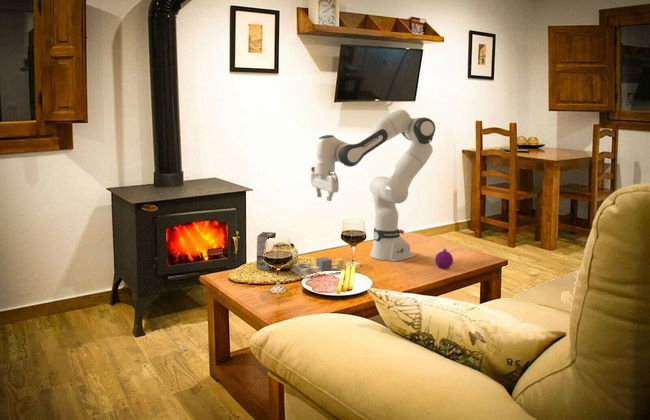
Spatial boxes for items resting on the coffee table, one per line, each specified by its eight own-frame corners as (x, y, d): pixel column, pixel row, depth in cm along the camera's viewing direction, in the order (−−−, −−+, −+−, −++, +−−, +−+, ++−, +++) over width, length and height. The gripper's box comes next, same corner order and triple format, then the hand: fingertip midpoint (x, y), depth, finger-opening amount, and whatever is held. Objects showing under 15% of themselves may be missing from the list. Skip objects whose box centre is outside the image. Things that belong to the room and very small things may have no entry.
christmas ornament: (446, 272, 278) (448, 251, 276) (431, 267, 283) (432, 247, 281) (455, 268, 284) (457, 247, 282) (440, 264, 289) (442, 244, 287)
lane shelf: (339, 264, 283) (339, 256, 282) (354, 272, 272) (355, 264, 271) (289, 271, 270) (290, 263, 269) (303, 280, 259) (304, 271, 258)
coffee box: (269, 272, 267) (270, 237, 264) (256, 271, 269) (256, 236, 265) (275, 266, 276) (276, 232, 273) (262, 265, 277) (262, 231, 274)
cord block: (338, 265, 278) (339, 255, 277) (344, 268, 273) (344, 258, 272) (316, 268, 272) (316, 258, 271) (321, 272, 268) (322, 261, 267)
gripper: (342, 172, 276) (341, 202, 279) (320, 166, 294) (319, 194, 297) (330, 173, 273) (329, 203, 276) (309, 167, 291) (308, 195, 293)
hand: (324, 198), depth 286 cm, fingers open, 8 cm apart
